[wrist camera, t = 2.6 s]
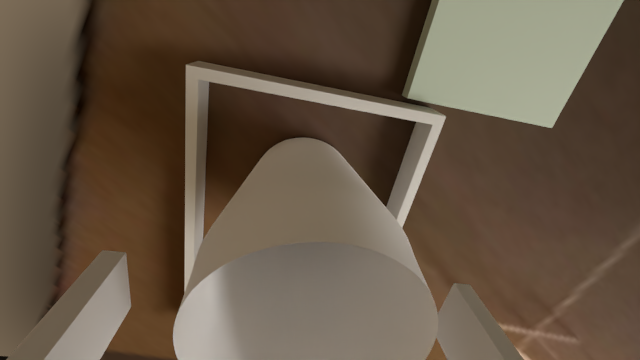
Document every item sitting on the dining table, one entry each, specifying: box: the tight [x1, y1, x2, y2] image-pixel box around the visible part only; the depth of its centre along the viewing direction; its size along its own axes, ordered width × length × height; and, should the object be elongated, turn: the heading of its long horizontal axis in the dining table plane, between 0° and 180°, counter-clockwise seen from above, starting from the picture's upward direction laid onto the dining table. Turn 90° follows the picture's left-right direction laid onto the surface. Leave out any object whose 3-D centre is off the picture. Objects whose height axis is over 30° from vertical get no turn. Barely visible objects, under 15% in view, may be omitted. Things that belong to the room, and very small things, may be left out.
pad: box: [402, 0, 624, 128], centre depth 16 cm, size 10×10×1 cm
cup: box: [173, 137, 438, 360], centre depth 15 cm, size 9×9×12 cm
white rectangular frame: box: [184, 61, 446, 293], centre depth 21 cm, size 21×14×2 cm
